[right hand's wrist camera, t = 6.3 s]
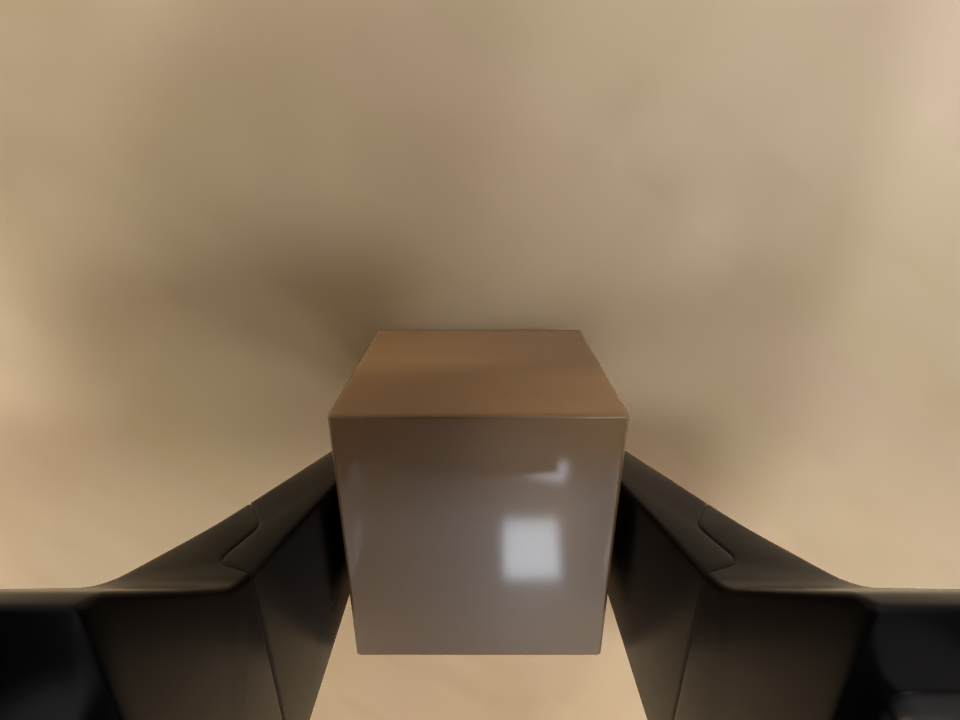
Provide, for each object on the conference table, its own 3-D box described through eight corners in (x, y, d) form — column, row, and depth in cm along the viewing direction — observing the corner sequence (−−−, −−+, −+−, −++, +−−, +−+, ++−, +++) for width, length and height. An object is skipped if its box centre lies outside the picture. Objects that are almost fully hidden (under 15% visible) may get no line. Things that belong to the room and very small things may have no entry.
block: (580, 329, 11) (630, 415, 8) (566, 513, 13) (601, 656, 9) (376, 329, 11) (325, 415, 8) (391, 514, 13) (356, 656, 9)
